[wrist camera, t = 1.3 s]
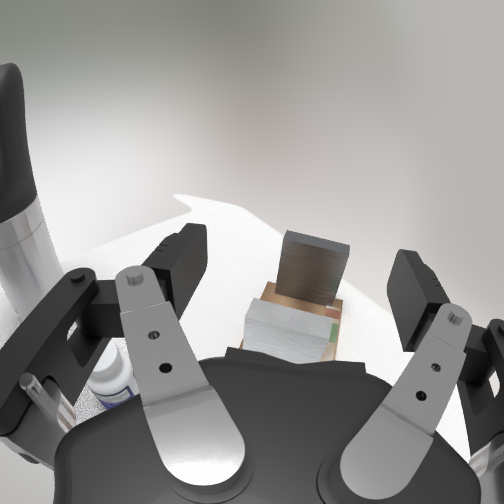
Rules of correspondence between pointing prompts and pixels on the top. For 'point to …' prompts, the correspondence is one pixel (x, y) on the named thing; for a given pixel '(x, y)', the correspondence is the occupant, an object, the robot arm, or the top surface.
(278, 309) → the brushed steel sheet
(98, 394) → the pill bottle
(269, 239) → the top surface
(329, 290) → the grey wood-grain slab
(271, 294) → the brown wooden base board
